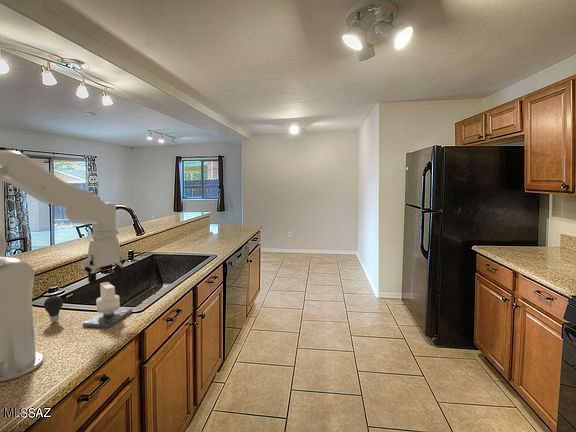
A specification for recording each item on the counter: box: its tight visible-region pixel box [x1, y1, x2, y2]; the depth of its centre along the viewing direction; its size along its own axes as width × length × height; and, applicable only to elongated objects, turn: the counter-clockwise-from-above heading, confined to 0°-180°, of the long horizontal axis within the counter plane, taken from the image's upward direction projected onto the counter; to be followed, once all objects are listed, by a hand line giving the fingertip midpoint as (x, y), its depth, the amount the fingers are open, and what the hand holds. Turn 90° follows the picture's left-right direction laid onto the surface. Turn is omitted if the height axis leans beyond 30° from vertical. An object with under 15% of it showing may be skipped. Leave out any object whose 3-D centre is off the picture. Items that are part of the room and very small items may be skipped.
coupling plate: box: [82, 307, 133, 329], centre depth 116 cm, size 14×10×4 cm
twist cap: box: [95, 281, 121, 313], centre depth 115 cm, size 8×8×9 cm
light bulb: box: [43, 295, 64, 323], centre depth 112 cm, size 6×6×10 cm
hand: (105, 280), depth 113 cm, fingers open, 9 cm apart
